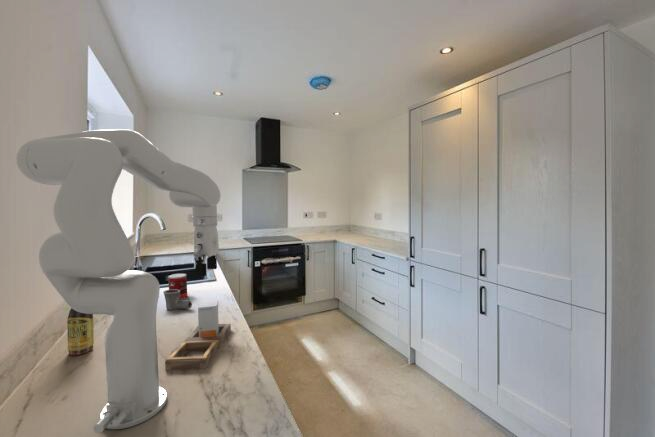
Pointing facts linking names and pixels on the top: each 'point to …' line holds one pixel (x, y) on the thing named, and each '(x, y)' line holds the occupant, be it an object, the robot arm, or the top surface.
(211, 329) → the skincare box
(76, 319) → the sauce bottle
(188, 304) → the pipe
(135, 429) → the top surface
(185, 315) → the top surface
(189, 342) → the wooden flat frame
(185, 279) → the canned food
